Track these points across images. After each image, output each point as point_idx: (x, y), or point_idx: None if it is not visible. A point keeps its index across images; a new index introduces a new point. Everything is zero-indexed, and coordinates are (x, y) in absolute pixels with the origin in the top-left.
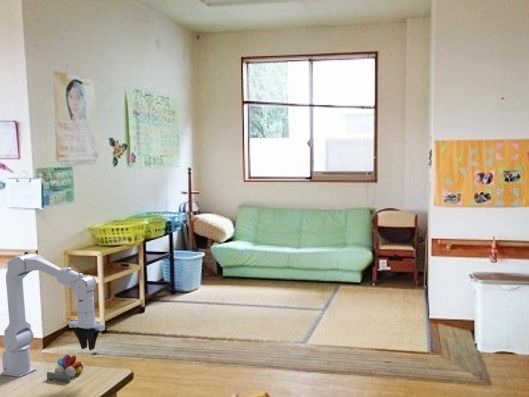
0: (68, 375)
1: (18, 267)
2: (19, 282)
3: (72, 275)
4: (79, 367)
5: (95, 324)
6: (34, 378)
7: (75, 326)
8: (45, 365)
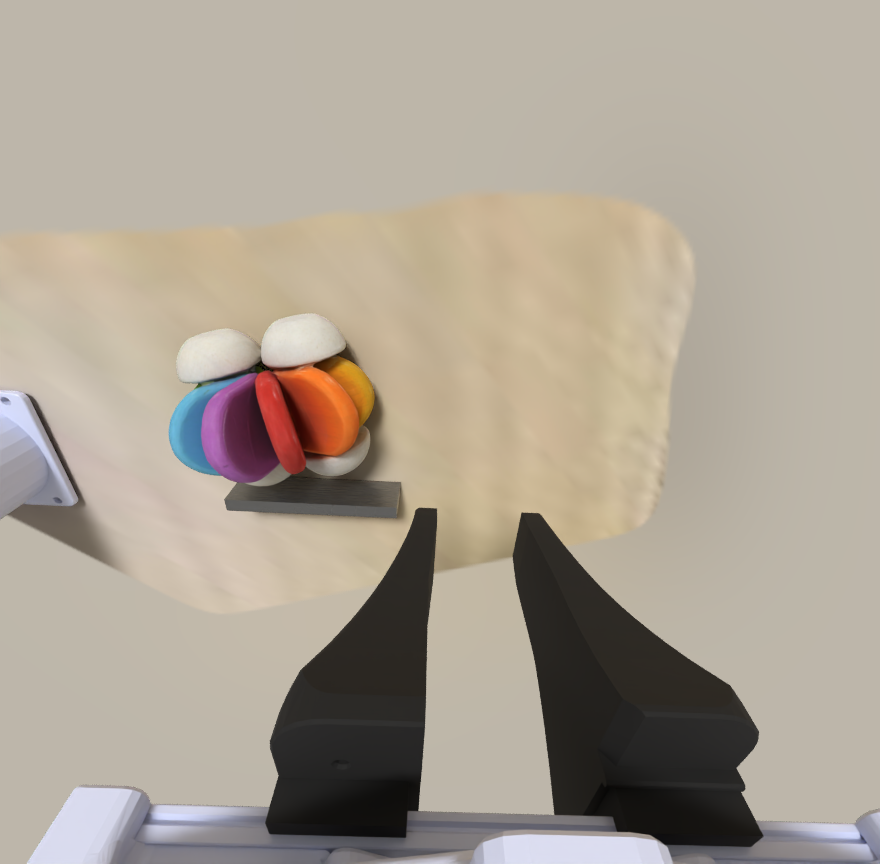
0: (390, 511)
1: None
2: None
3: None
4: (346, 387)
5: None
6: (166, 489)
7: (226, 851)
8: None
